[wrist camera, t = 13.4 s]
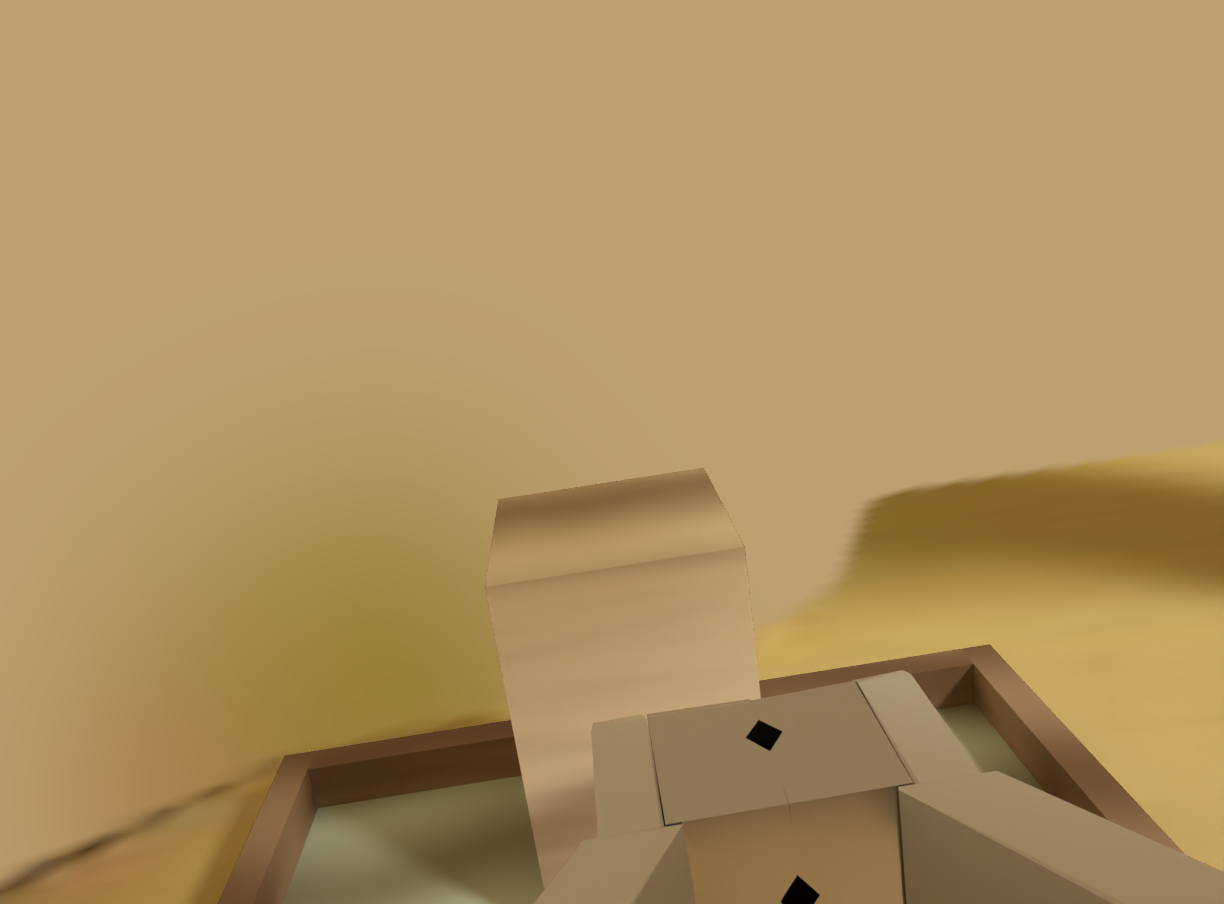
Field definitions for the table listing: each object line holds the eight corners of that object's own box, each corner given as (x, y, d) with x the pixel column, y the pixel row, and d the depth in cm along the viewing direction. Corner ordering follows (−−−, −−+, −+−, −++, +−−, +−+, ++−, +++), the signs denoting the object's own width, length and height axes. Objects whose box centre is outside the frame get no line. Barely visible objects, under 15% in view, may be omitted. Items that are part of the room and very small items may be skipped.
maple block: (782, 900, 25) (744, 546, 22) (553, 937, 24) (484, 586, 21) (738, 761, 30) (703, 467, 27) (552, 791, 30) (498, 499, 27)
